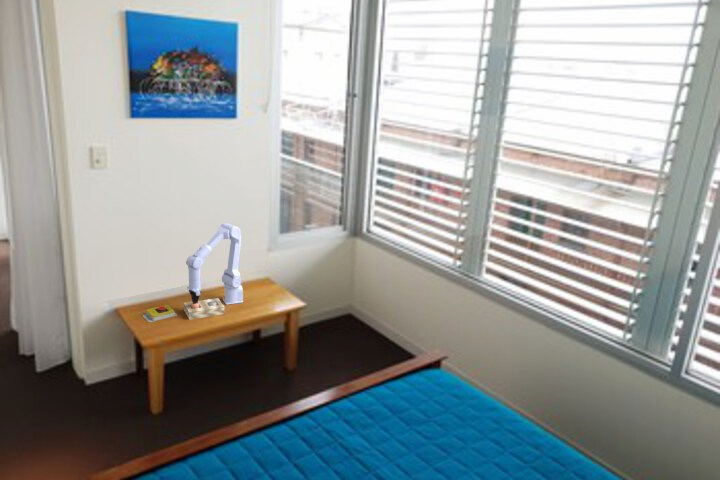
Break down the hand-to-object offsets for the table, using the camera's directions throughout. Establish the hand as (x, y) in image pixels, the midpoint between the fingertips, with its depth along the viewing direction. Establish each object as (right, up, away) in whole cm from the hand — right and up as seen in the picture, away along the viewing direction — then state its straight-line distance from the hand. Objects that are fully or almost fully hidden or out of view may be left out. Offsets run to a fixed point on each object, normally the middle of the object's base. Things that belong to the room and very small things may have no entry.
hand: (195, 303), depth 290 cm
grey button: (+8, -4, +6) cm, 10 cm away
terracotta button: (0, -4, +1) cm, 4 cm away
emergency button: (-17, -6, -3) cm, 19 cm away
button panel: (+4, -5, +4) cm, 7 cm away
